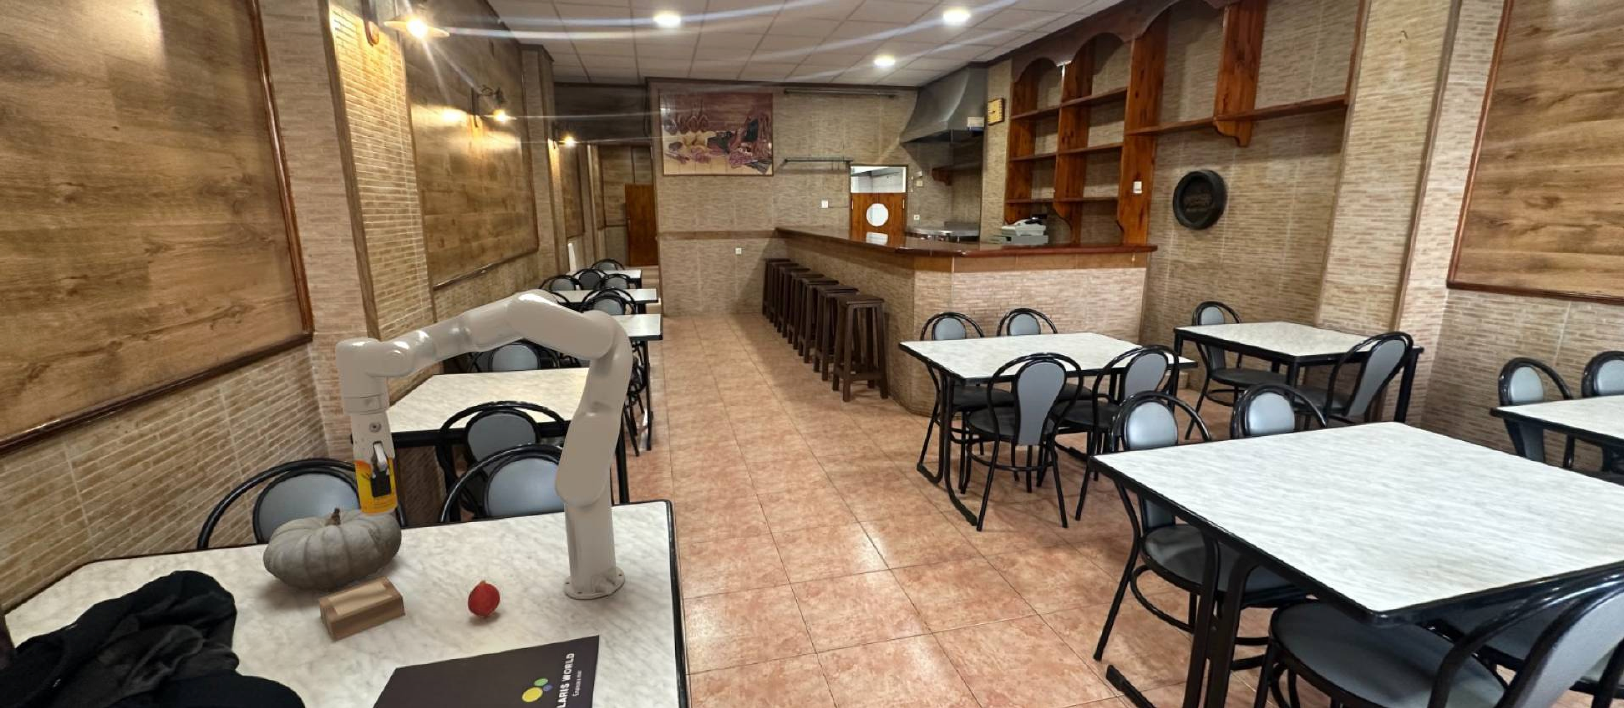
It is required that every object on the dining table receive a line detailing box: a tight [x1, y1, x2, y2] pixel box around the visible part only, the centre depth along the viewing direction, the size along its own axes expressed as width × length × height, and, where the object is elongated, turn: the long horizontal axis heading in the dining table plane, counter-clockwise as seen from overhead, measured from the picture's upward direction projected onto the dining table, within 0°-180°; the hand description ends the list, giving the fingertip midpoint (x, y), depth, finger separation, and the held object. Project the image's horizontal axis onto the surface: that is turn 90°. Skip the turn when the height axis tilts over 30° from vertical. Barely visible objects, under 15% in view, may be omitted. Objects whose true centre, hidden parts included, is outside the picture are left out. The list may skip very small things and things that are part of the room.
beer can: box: [352, 442, 398, 517], centre depth 131 cm, size 6×6×15 cm
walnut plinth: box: [317, 575, 406, 643], centre depth 134 cm, size 12×12×4 cm
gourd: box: [262, 506, 403, 592], centre depth 148 cm, size 25×25×17 cm
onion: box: [467, 579, 501, 618], centre depth 133 cm, size 6×6×8 cm
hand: (377, 489), depth 131 cm, fingers closed on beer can, 6 cm apart
